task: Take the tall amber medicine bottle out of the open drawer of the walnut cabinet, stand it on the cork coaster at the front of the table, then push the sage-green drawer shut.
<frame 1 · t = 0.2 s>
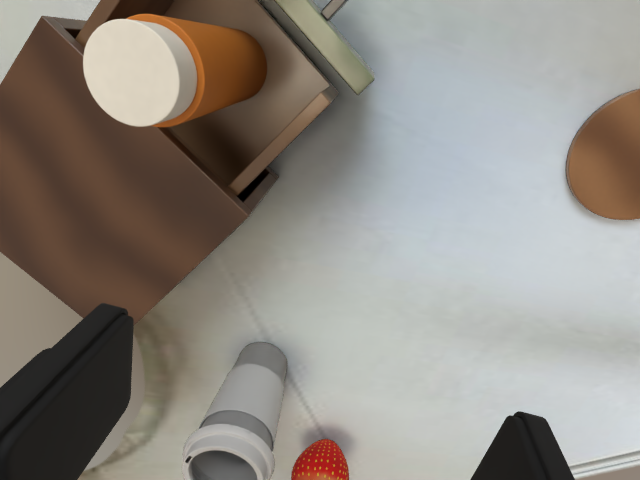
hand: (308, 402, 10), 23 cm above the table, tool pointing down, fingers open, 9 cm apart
cup: (264, 360, 40), on the table
pill bottle: (234, 66, 28), point 2 cm above the table, touching drawer
drawer: (242, 44, 25), point 4 cm above the table, slide at 9.0 cm, touching pill bottle
cabinet: (151, 170, 33), on the table
coaster: (636, 156, 29), on the table
fruit: (325, 438, 43), on the table
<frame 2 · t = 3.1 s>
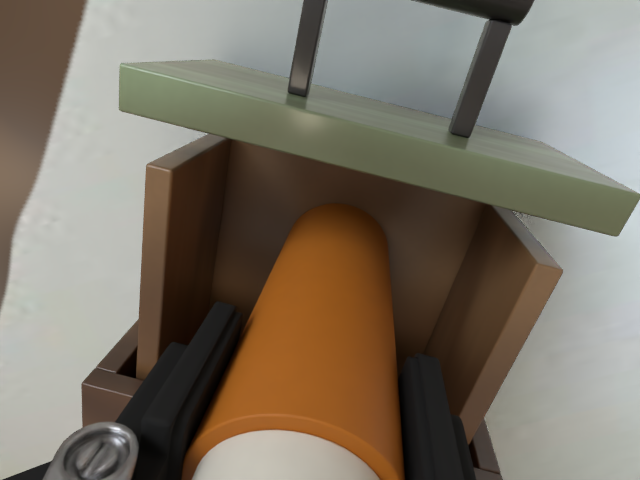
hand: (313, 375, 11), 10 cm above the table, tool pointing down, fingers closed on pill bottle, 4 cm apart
pill bottle: (336, 251, 18), point 2 cm above the table, touching drawer, gripper
drawer: (343, 235, 15), point 4 cm above the table, slide at 9.0 cm, touching pill bottle
cabinet: (294, 401, 25), on the table
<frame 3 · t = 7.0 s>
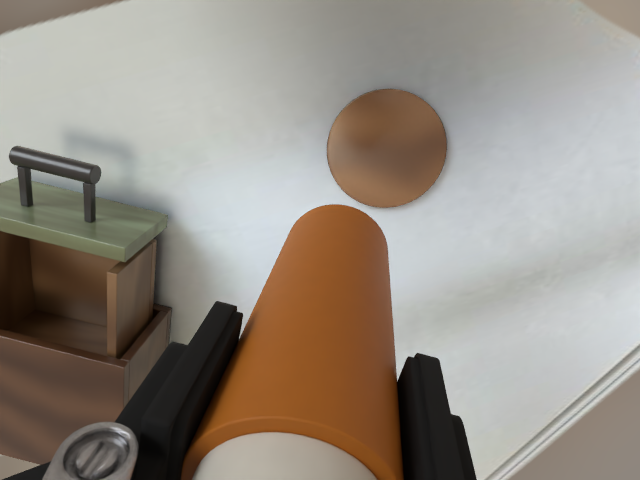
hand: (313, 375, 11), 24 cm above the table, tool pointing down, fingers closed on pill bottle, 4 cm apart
pill bottle: (336, 252, 18), point 16 cm above the table, touching gripper
drawer: (68, 258, 35), point 4 cm above the table, slide at 9.0 cm
cabinet: (100, 347, 44), on the table
coaster: (385, 150, 32), on the table
when the fingers open (8 cm above the table, at t = 11.2 s): pill bottle stays where it is, resting on coaster.
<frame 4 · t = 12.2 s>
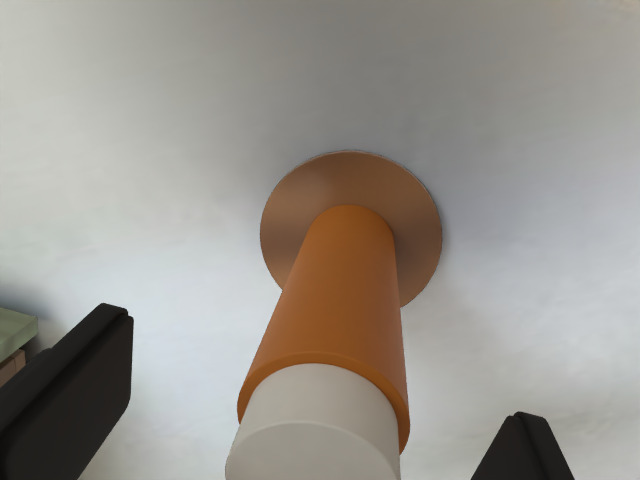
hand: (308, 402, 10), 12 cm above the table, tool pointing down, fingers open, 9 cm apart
pill bottle: (349, 246, 21), resting on coaster
coaster: (349, 239, 21), on the table
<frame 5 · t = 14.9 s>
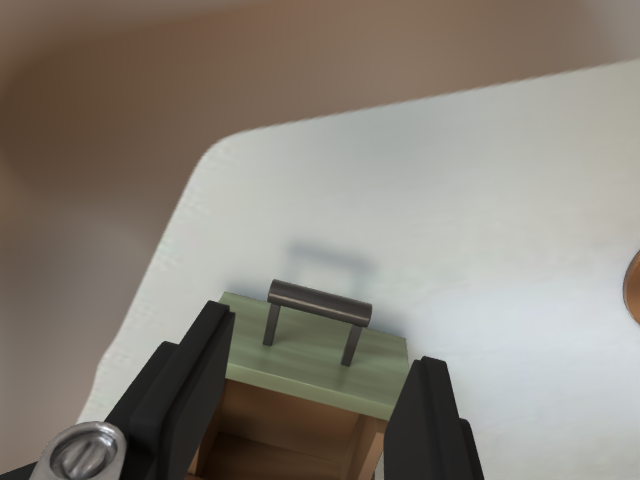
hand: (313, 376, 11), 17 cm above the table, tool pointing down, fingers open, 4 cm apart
drawer: (294, 395, 29), point 4 cm above the table, slide at 9.0 cm
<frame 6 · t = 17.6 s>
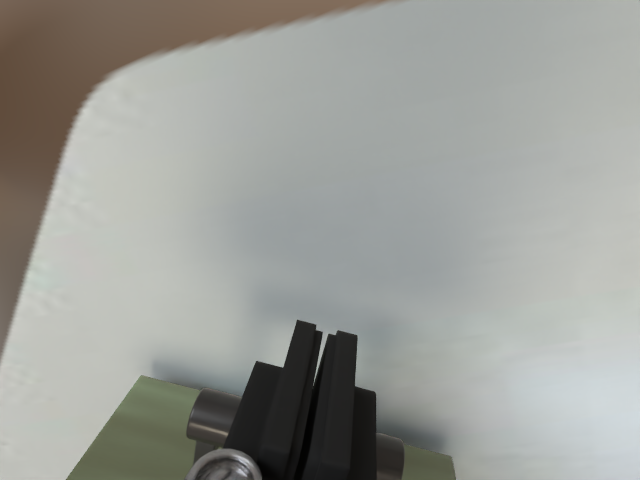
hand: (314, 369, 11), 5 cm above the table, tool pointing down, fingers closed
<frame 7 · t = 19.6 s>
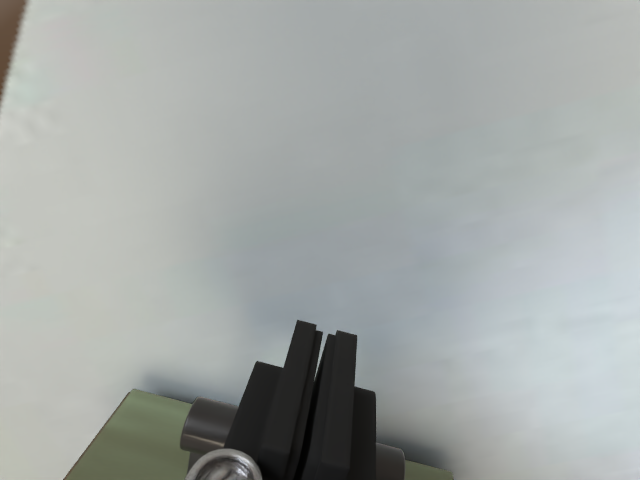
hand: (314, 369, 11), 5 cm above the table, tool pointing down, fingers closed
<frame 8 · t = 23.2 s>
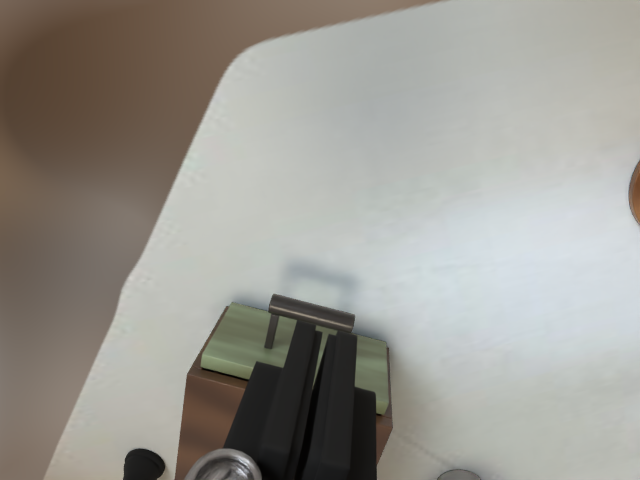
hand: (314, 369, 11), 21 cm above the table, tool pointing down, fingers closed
drawer: (291, 390, 34), point 4 cm above the table, slide at 0.0 cm, touching cabinet
chess piece: (146, 461, 47), on the table
cabinet: (291, 388, 40), on the table
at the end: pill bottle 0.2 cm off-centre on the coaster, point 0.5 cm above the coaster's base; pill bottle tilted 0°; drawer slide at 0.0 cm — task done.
